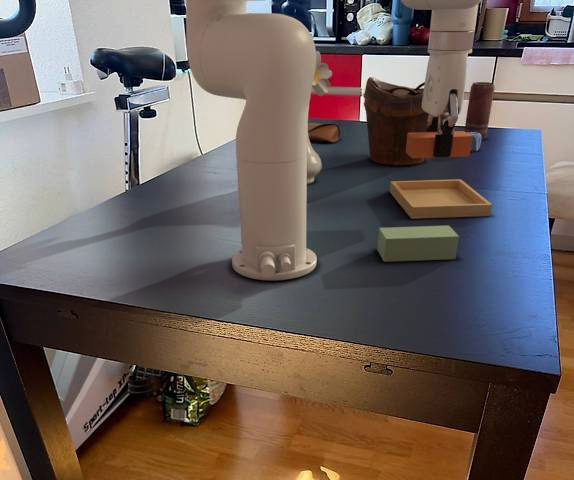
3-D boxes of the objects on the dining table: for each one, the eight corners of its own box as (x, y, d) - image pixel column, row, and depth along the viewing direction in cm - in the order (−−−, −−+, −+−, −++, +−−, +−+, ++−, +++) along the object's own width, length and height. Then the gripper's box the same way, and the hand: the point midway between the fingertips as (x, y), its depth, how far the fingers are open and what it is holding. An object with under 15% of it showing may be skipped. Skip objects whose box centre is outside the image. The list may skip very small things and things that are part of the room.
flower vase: (333, 171, 133) (337, 45, 119) (322, 193, 118) (325, 52, 104) (278, 169, 135) (276, 46, 121) (260, 190, 120) (255, 52, 106)
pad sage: (455, 259, 87) (459, 236, 85) (383, 262, 86) (385, 238, 84) (445, 247, 91) (448, 225, 89) (377, 250, 91) (378, 227, 89)
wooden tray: (490, 216, 104) (492, 204, 103) (411, 218, 103) (412, 207, 102) (459, 189, 119) (460, 179, 118) (389, 191, 118) (390, 181, 117)
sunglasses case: (271, 139, 161) (274, 114, 161) (277, 148, 168) (280, 124, 168) (333, 142, 157) (337, 117, 157) (338, 151, 164) (341, 127, 164)
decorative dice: (475, 152, 147) (478, 135, 145) (460, 150, 149) (462, 134, 147) (479, 149, 150) (482, 132, 148) (464, 147, 152) (467, 131, 150)
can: (458, 137, 163) (466, 82, 155) (475, 135, 165) (484, 81, 157) (472, 141, 158) (481, 84, 150) (490, 139, 160) (500, 83, 153)
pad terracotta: (469, 156, 108) (472, 136, 106) (412, 158, 108) (414, 138, 106) (460, 150, 112) (463, 130, 110) (405, 152, 112) (407, 132, 110)
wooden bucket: (454, 164, 137) (466, 79, 127) (380, 172, 131) (387, 84, 121) (414, 149, 151) (422, 72, 141) (345, 156, 145) (349, 76, 135)
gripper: (416, 40, 107) (406, 144, 117) (444, 47, 92) (430, 164, 103) (456, 39, 107) (443, 143, 117) (489, 46, 93) (471, 163, 103)
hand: (437, 152), depth 110 cm, fingers closed on pad terracotta, 5 cm apart
